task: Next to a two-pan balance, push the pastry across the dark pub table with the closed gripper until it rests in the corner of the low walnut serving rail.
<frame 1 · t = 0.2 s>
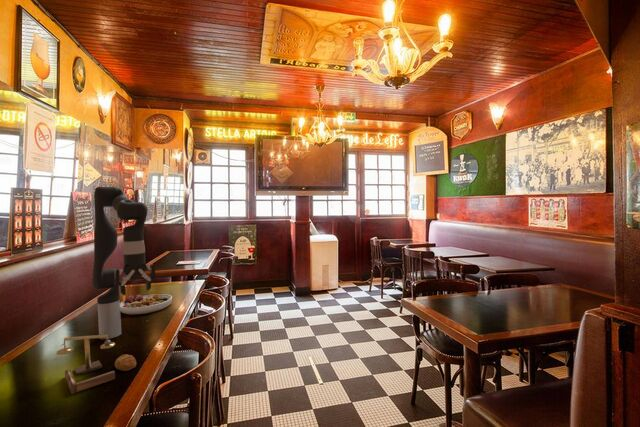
hand: (136, 292, 128), 29 cm above the table, fingers open, 8 cm apart
serving rail: (70, 384, 114), on the table
pastry: (126, 366, 127), on the table
balance: (88, 368, 125), on the table
bowl: (146, 308, 204), on the table
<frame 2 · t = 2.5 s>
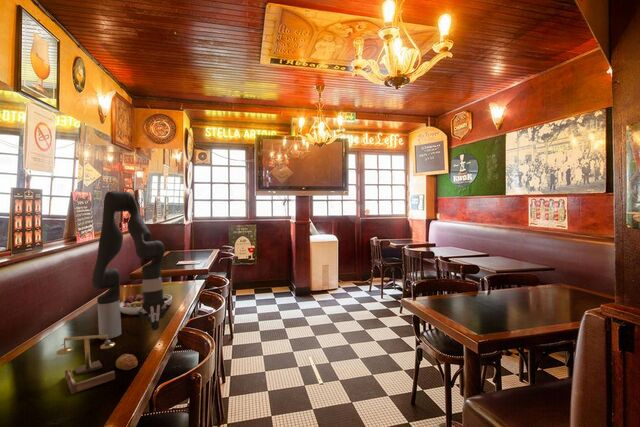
hand: (154, 329, 134), 11 cm above the table, fingers closed
nothing on the table moved.
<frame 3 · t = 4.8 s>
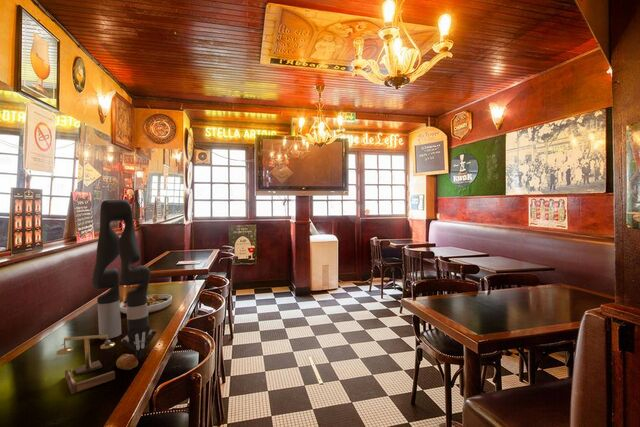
hand: (140, 357, 130), 2 cm above the table, fingers closed
pastry: (128, 366, 127), on the table, touching gripper
everything else where it was.
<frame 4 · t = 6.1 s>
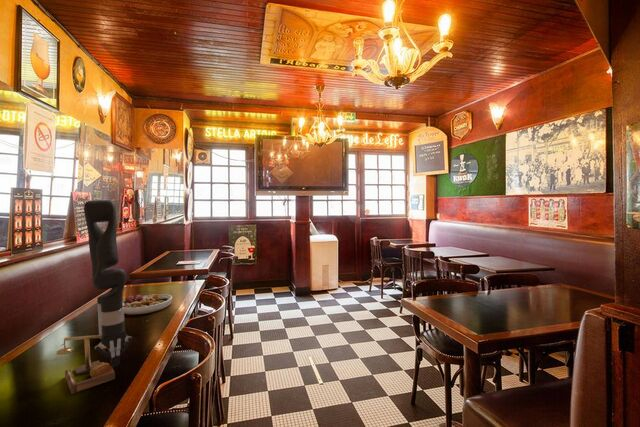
hand: (115, 365, 124), 2 cm above the table, fingers closed
pastry: (103, 375, 121), on the table, touching gripper
everything else where it was.
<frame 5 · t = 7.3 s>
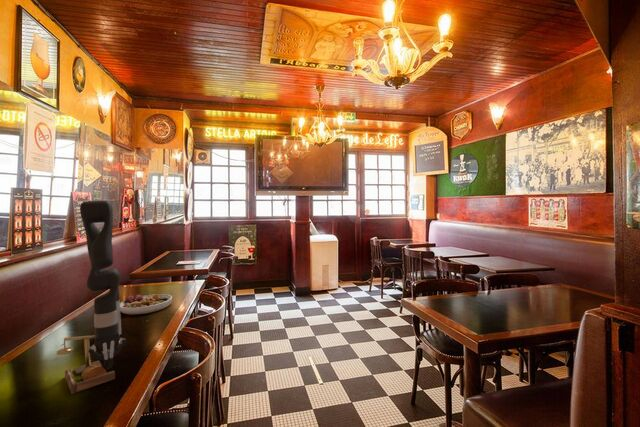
hand: (108, 367, 123), 2 cm above the table, fingers closed
pastry: (95, 378, 119), on the table
everything else where it was.
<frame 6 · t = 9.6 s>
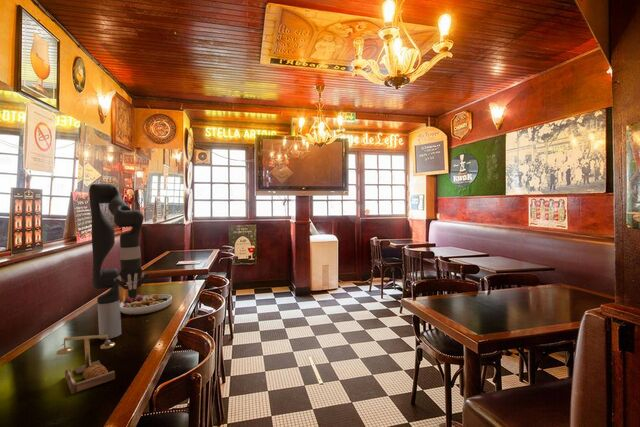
hand: (132, 297, 136), 25 cm above the table, fingers closed
nothing on the table moved.
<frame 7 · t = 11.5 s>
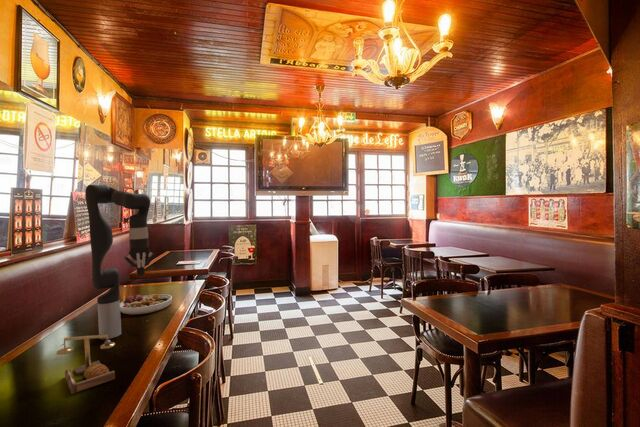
hand: (140, 275, 145), 32 cm above the table, fingers closed
nothing on the table moved.
at the end: pastry inside the target area (2.4 cm from its centre), on the table; pastry moved 9.5 cm from its start; the gripper is holding nothing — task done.
